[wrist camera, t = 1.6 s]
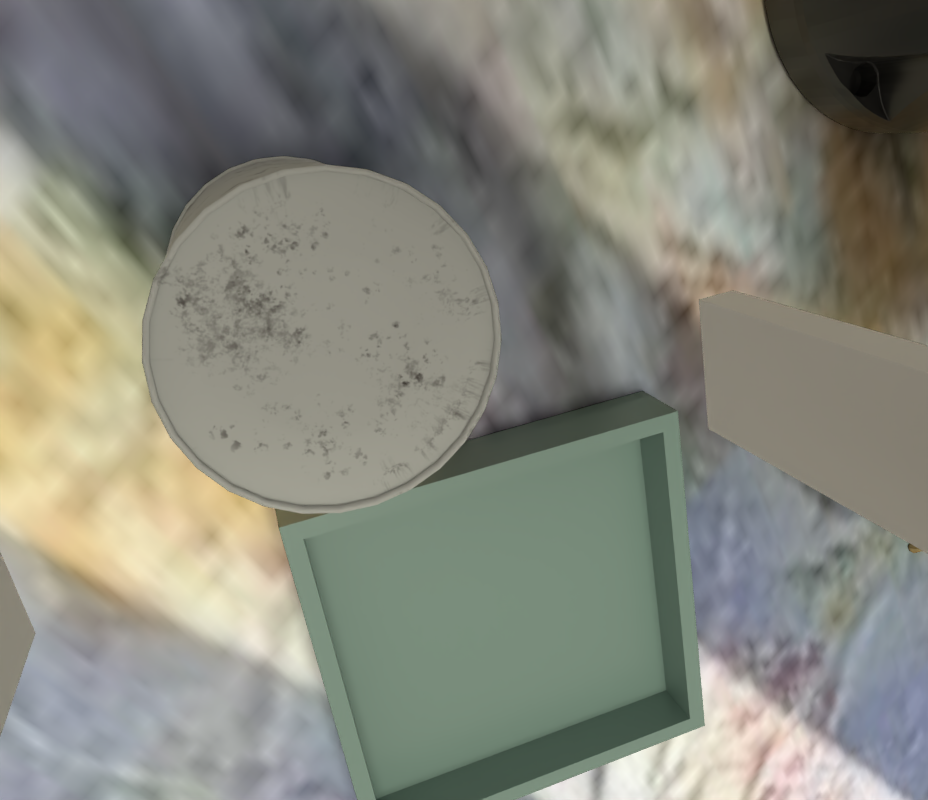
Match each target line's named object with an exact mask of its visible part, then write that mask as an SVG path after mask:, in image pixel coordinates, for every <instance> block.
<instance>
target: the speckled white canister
mask: <svg viewBox="0 0 928 800" xmlns="http://www.w3.org/2000/svg"><path fill="white" fill-rule="evenodd" d="M500 347H501V329H500V317H499V306H498V300H497V297H496V294H495V291H494V288H493V285H492V282H491V279H490V275H489V272H488V269H487V266H486V265H485V263H484V261H483V260H482V258H481V256H480V255H479V253H478V251H477V250H476V248H475V246H474V245H473V243H472V241H471V239H470V238H469V236H468V234H467V233H466V232H465V231H464V230H463V229H462V228H461V227H460V226H459V225H458V224H457V223H456V222H455V221H454V220H453V219H452V217H451V216H450V215H449V214H448V213H447V212H446V211H445V210H444V209H443V208H442V207H441V206H440V205H438V204H437V203H435V202H434V201H432V200H431V199H429V198H428V197H426V196H425V195H423V194H422V193H420V192H419V191H417V190H415V189H414V188H412V187H411V186H409V185H408V184H406V183H404V182H401V181H398V180H395V179H392V178H390V177H387V176H384V175H381V174H379V173H376V172H373V171H370V170H368V169H360V168H352V167H343V166H335V165H326V164H323V163H320V162H318V161H315V160H312V159H305V158H296V157H288V156H279V157H270V158H261V159H254V160H252V161H249V162H246V163H243V164H240V165H238V166H235V167H232V168H229V169H228V170H226V171H225V172H223V173H222V174H220V175H219V176H217V177H215V178H214V179H212V180H211V181H209V182H208V183H206V184H205V185H204V186H203V187H202V188H201V189H200V190H199V192H198V193H197V194H196V195H195V196H194V197H193V198H192V199H191V200H190V201H189V202H188V204H187V205H186V206H185V208H184V210H183V212H182V213H181V215H180V217H179V219H178V221H177V223H176V224H175V226H174V228H173V230H172V234H171V238H170V242H169V245H168V249H167V253H166V257H165V259H164V260H163V262H162V264H161V266H160V268H159V269H158V271H157V273H156V275H155V277H154V279H153V282H152V286H151V290H150V294H149V298H148V301H147V305H146V309H145V313H144V317H143V323H142V364H143V368H144V372H145V376H146V380H147V384H148V388H149V393H150V397H151V401H152V403H153V405H154V407H155V409H156V411H157V413H158V415H159V417H160V419H161V421H162V423H163V425H164V427H165V428H166V430H167V432H168V434H169V436H170V438H171V439H172V440H173V442H174V443H175V444H176V445H177V446H178V447H179V448H180V450H181V451H182V452H183V453H184V454H185V455H186V456H187V458H188V459H189V460H190V461H191V462H192V463H193V464H194V466H195V467H196V468H197V469H199V470H200V471H201V472H203V473H204V474H206V475H207V476H208V477H210V478H211V479H212V480H214V481H215V482H217V483H218V484H219V485H221V486H222V487H224V488H225V489H226V490H228V491H230V492H232V493H234V494H237V495H239V496H241V497H244V498H246V499H248V500H251V501H253V502H255V503H258V504H260V505H262V506H265V507H270V508H275V509H280V510H286V511H291V512H296V513H301V514H316V513H343V512H347V511H352V510H356V509H361V508H365V507H370V506H374V505H378V504H380V503H382V502H384V501H387V500H389V499H391V498H393V497H396V496H398V495H400V494H402V493H405V492H407V491H409V490H411V489H412V488H414V487H415V486H417V485H418V484H419V483H421V482H422V481H424V480H425V479H426V478H428V477H429V476H431V475H432V474H433V473H435V472H436V471H438V470H439V469H440V468H441V467H442V466H443V465H444V464H445V463H446V462H447V461H448V460H449V459H450V458H451V457H452V456H453V455H454V454H455V452H456V451H457V450H458V449H459V448H460V447H461V446H462V445H463V444H464V443H465V442H466V440H467V438H468V437H469V435H470V434H471V432H472V430H473V429H474V427H475V425H476V424H477V422H478V420H479V419H480V417H481V416H482V414H483V412H484V411H485V408H486V405H487V402H488V399H489V397H490V394H491V391H492V388H493V385H494V382H495V380H496V377H497V370H498V362H499V355H500Z"/></svg>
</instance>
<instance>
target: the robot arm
mask: <svg viewBox="0 0 928 800" xmlns="http://www.w3.org/2000/svg"><path fill="white" fill-rule="evenodd" d="M765 3H766V10H767V15H768V20H769V25H770V29H771V32H772V36H773V39H774V42H775V45H776V48H777V50H778V53H779V55H780V58H781V60H782V62H783V64H784V66H785V68H786V70H787V72H788V73H789V75H790V77H791V79H792V80H793V82H794V83H795V84H796V86H797V87H798V89H799V90H800V91H801V92H802V94H803V95H804V96H805V97H806V98H807V99H808V100H809V101H810V102H811V103H812V104H813V105H814V106H815V107H816V108H817V109H818V110H819V111H821V112H822V113H823V114H825V115H826V116H828V117H829V118H831V119H832V120H834V121H836V122H838V123H840V124H842V125H844V126H847V127H849V128H852V129H855V130H859V131H864V132H869V133H922V132H928V0H765ZM699 307H700V321H701V335H702V348H703V362H704V376H705V390H706V404H707V418H708V429H710V430H712V431H713V432H715V433H717V434H719V435H720V436H722V437H724V438H726V439H727V440H729V441H731V442H733V443H734V444H736V445H738V446H740V447H741V448H743V449H745V450H747V451H749V452H750V453H752V454H754V455H756V456H757V457H759V458H761V459H763V460H764V461H766V462H768V463H770V464H771V465H773V466H775V467H777V468H778V469H780V470H782V471H784V472H785V473H787V474H789V475H791V476H792V477H794V478H796V479H798V480H799V481H801V482H803V483H805V484H806V485H808V486H810V487H812V488H813V489H815V490H817V491H819V492H820V493H822V494H824V495H826V496H827V497H829V498H831V499H833V500H834V501H836V502H838V503H840V504H841V505H843V506H845V507H847V508H848V509H850V510H852V511H854V512H855V513H857V514H859V515H861V516H863V517H864V518H866V519H868V520H870V521H871V522H873V523H875V524H877V525H878V526H880V527H882V528H884V529H885V530H887V531H889V532H891V533H892V534H894V535H896V536H898V537H899V538H901V539H903V540H905V541H906V542H908V543H910V544H912V545H913V546H915V547H917V548H919V549H920V550H922V551H924V552H926V553H927V554H928V346H927V345H924V344H920V343H916V342H913V341H909V340H906V339H902V338H899V337H895V336H892V335H888V334H885V333H881V332H878V331H874V330H871V329H867V328H864V327H860V326H856V325H853V324H849V323H846V322H842V321H839V320H835V319H832V318H828V317H825V316H821V315H818V314H814V313H811V312H807V311H803V310H800V309H796V308H793V307H789V306H786V305H782V304H779V303H775V302H772V301H768V300H765V299H761V298H758V297H754V296H750V295H747V294H743V293H740V292H736V291H730V292H726V293H722V294H718V295H715V296H711V297H707V298H703V299H699ZM34 636H35V631H34V629H33V626H32V624H31V622H30V619H29V617H28V615H27V613H26V610H25V608H24V606H23V603H22V601H21V599H20V596H19V594H18V592H17V589H16V587H15V585H14V583H13V580H12V578H11V576H10V573H9V571H8V569H7V566H6V564H5V562H4V559H3V557H2V555H1V553H0V735H1V733H2V730H3V727H4V724H5V721H6V718H7V715H8V712H9V709H10V706H11V703H12V700H13V697H14V694H15V691H16V688H17V686H18V683H19V680H20V677H21V674H22V671H23V668H24V665H25V662H26V659H27V656H28V653H29V650H30V647H31V644H32V641H33V639H34Z"/></svg>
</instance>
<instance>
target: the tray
mask: <svg viewBox="0 0 928 800" xmlns="http://www.w3.org/2000/svg"><path fill="white" fill-rule="evenodd" d="M275 510H276V515H277V521H278V526H279V530H280V534H281V537H282V541H283V544H284V548H285V551H286V554H287V558H288V561H289V565H290V568H291V572H292V575H293V579H294V582H295V586H296V589H297V593H298V596H299V599H300V603H301V606H302V610H303V613H304V617H305V620H306V624H307V627H308V631H309V634H310V638H311V641H312V644H313V648H314V651H315V655H316V658H317V662H318V665H319V669H320V672H321V676H322V679H323V683H324V686H325V689H326V693H327V696H328V700H329V703H330V707H331V710H332V714H333V717H334V721H335V724H336V728H337V731H338V734H339V738H340V741H341V745H342V748H343V752H344V755H345V759H346V762H347V766H348V769H349V773H350V776H351V779H352V783H353V786H354V790H355V793H356V797H357V800H515V799H518V798H520V797H523V796H525V795H528V794H531V793H533V792H536V791H538V790H541V789H543V788H546V787H549V786H551V785H554V784H556V783H559V782H561V781H564V780H566V779H569V778H572V777H574V776H577V775H579V774H582V773H584V772H587V771H589V770H592V769H595V768H597V767H600V766H602V765H605V764H607V763H610V762H613V761H615V760H618V759H620V758H623V757H625V756H628V755H630V754H633V753H636V752H638V751H641V750H643V749H646V748H648V747H651V746H654V745H656V744H659V743H661V742H664V741H666V740H669V739H671V738H674V737H677V736H679V735H682V734H684V733H687V732H689V731H692V730H695V729H697V728H700V727H702V726H705V723H704V711H703V700H702V688H701V677H700V665H699V653H698V642H697V630H696V618H695V607H694V595H693V583H692V572H691V560H690V548H689V537H688V525H687V513H686V502H685V490H684V479H683V467H682V455H681V444H680V432H679V420H678V411H677V410H675V409H673V408H671V407H670V406H668V405H666V404H664V403H663V402H661V401H659V400H658V399H656V398H654V397H652V396H651V395H649V394H647V393H645V392H644V391H641V392H637V393H634V394H630V395H627V396H623V397H620V398H616V399H613V400H609V401H606V402H602V403H599V404H595V405H592V406H588V407H585V408H581V409H577V410H574V411H570V412H567V413H563V414H560V415H556V416H553V417H549V418H546V419H542V420H539V421H535V422H532V423H528V424H525V425H521V426H518V427H514V428H510V429H507V430H503V431H500V432H496V433H493V434H489V435H486V436H482V437H479V438H475V439H472V440H468V441H466V442H465V443H464V444H463V445H462V446H461V447H460V448H459V449H458V450H457V451H456V452H455V454H454V455H453V456H452V457H451V458H450V459H449V460H448V461H447V462H446V463H445V464H444V465H443V466H442V467H441V468H440V469H439V470H438V471H436V472H435V473H433V474H432V475H431V476H429V477H428V478H426V479H425V480H424V481H422V482H421V483H419V484H418V485H417V486H415V487H414V488H412V489H411V490H409V491H407V492H405V493H402V494H400V495H398V496H396V497H393V498H391V499H389V500H387V501H384V502H382V503H380V504H378V505H374V506H370V507H365V508H361V509H356V510H352V511H347V512H343V513H316V514H301V513H296V512H291V511H286V510H280V509H275Z"/></svg>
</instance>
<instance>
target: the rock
mask: <svg viewBox="0 0 928 800" xmlns="http://www.w3.org/2000/svg"><path fill="white" fill-rule="evenodd" d="M908 548H909V550H910V551H911V552H913V553H917V552H920V551H922V550H920V549H919V548H917V547H915V546H913V545H912V544H909V545H908Z"/></svg>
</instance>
